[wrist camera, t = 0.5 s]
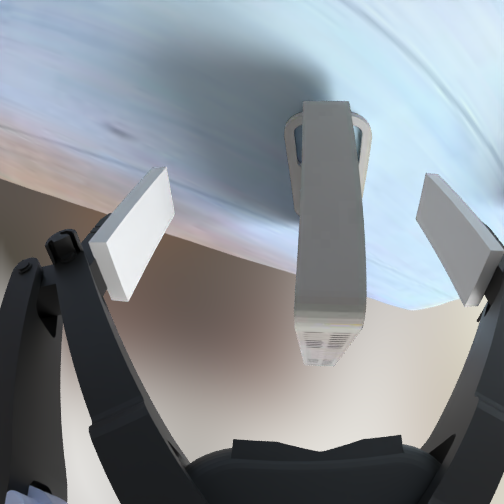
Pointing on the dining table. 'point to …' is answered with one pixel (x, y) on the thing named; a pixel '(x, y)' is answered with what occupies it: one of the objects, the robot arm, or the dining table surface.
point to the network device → (328, 228)
